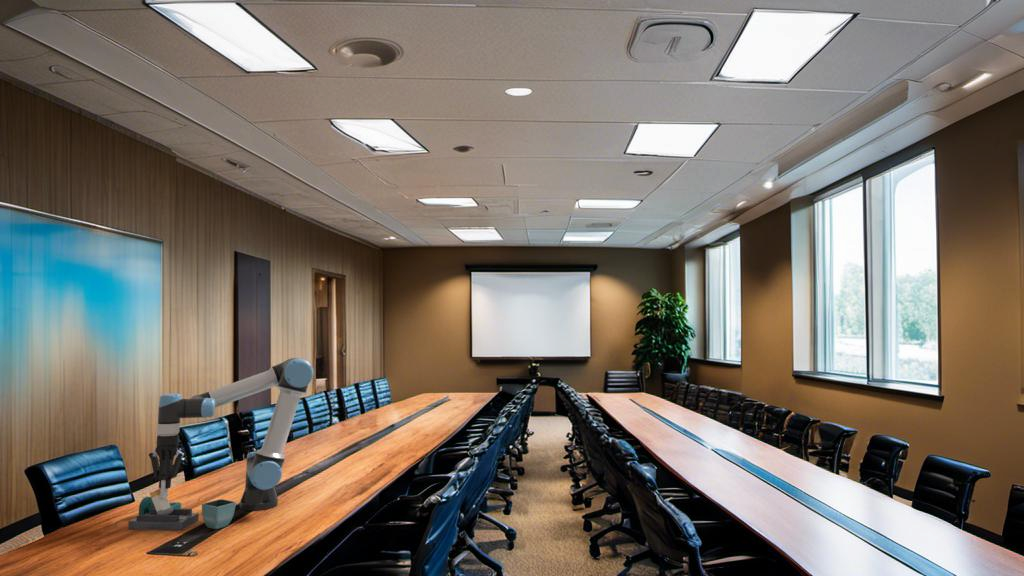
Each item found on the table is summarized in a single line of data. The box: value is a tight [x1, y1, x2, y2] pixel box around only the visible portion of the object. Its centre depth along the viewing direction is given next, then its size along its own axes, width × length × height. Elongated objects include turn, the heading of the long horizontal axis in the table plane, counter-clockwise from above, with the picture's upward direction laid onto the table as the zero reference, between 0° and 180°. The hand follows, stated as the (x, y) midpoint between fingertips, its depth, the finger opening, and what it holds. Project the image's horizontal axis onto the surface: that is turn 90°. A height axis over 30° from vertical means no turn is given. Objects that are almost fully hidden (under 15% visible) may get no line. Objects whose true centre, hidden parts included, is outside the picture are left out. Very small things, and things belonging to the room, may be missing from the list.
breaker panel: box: [127, 512, 200, 531], centre depth 231 cm, size 20×12×3 cm, turn 90°
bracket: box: [138, 496, 182, 515], centre depth 247 cm, size 18×7×8 cm, turn 172°
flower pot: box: [201, 498, 237, 530], centre depth 230 cm, size 9×9×9 cm
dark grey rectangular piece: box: [136, 508, 193, 522], centre depth 231 cm, size 15×11×2 cm
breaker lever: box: [149, 488, 173, 515], centre depth 231 cm, size 3×6×10 cm, turn 2°
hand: (164, 497), depth 231 cm, fingers closed
